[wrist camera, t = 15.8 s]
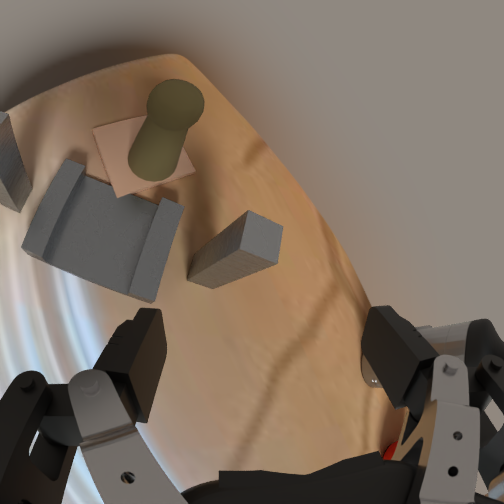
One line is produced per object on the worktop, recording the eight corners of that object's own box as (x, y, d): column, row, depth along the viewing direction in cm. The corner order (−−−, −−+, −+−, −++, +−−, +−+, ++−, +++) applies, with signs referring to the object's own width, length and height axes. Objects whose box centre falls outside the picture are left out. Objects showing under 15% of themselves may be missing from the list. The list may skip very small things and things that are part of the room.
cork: (148, 191, 27) (176, 126, 18) (117, 154, 26) (133, 81, 17) (187, 165, 31) (227, 103, 22) (157, 131, 30) (186, 64, 21)
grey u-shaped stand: (205, 320, 28) (269, 313, 18) (-13, 234, 17) (-61, 177, 7) (226, 235, 31) (288, 189, 22) (29, 155, 21) (13, 78, 11)
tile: (163, 114, 31) (165, 111, 31) (194, 173, 31) (195, 171, 31) (92, 131, 26) (92, 128, 25) (116, 200, 26) (117, 197, 25)
